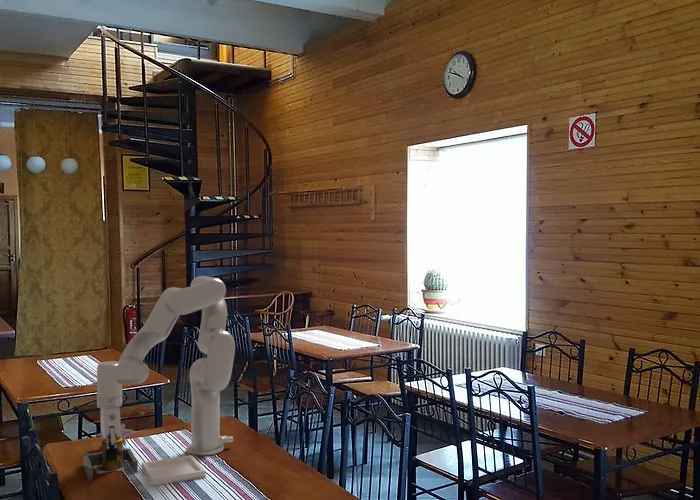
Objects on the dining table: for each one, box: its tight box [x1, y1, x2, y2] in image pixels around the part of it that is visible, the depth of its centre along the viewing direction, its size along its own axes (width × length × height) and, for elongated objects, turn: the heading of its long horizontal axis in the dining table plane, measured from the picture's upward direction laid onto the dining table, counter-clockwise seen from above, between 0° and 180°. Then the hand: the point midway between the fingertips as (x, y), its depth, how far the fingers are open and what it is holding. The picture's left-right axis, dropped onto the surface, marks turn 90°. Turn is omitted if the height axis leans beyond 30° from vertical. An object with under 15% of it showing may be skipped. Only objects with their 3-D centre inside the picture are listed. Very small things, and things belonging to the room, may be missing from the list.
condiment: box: [92, 430, 127, 475], centre depth 213 cm, size 7×8×12 cm
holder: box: [82, 447, 139, 481], centre depth 212 cm, size 14×14×4 cm
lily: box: [95, 423, 137, 445], centre depth 233 cm, size 12×12×10 cm
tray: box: [141, 454, 207, 487], centre depth 209 cm, size 16×16×2 cm
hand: (109, 456), depth 213 cm, fingers closed on condiment, 6 cm apart
